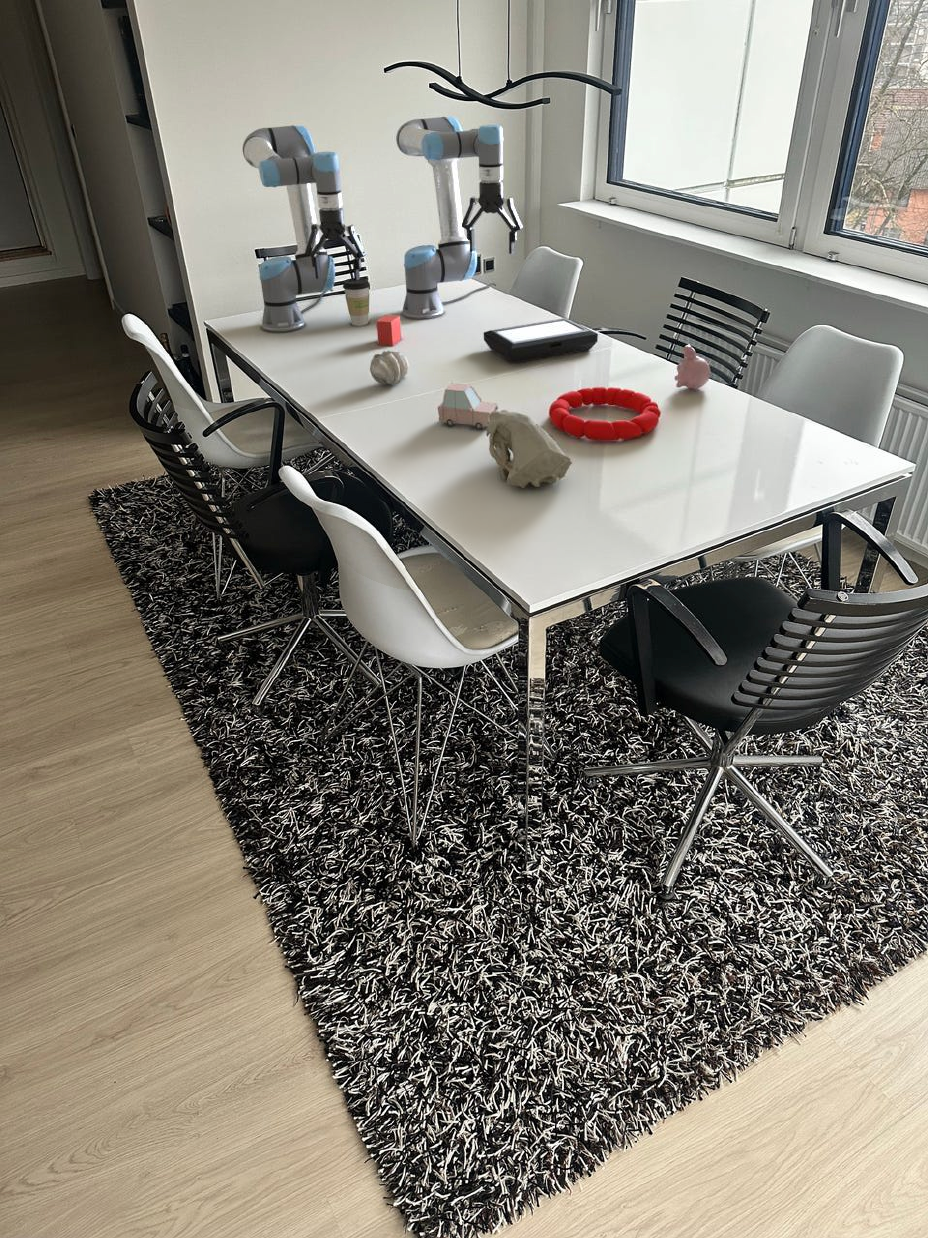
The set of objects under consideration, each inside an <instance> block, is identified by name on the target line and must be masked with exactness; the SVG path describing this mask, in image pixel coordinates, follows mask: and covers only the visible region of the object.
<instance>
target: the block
mask: <svg viewBox="0 0 928 1238" xmlns="http://www.w3.org/2000/svg"><path fill="white" fill-rule="evenodd" d="M376 334H377V344H378V346H390V347H394V346H395V345H396V344H397V343H399V342H400V341H401V340H402V329H401V316H400V315H392V314H385V315H383V316H381V317H380V318H379V319H377V320H376Z"/></svg>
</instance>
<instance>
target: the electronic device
mask: <svg viewBox="0 0 928 1238" xmlns="http://www.w3.org/2000/svg"><path fill="white" fill-rule="evenodd" d="M598 337H599V333H597V332H595V331H594V330H591V329H589V328H587V327H585V326H583V325H581V324H579V323H577V322H575V321H574V320H571V319H570V318H567V317H564V318H558V319H552V320H544V321H540V322H533V323H526V324H521V325H515V326H508V327H502V328H497V329H496V328H495V329H491V330H487V331H484V332H483V341H484V343H485V344H486V345H487V346H488V348H489V349H490V350H491V351H493V352H495V353H496V354H497V355H500V356H501V357H502V358H505V359H506V360H507V361H509V362H510V363H511V364H515V363H520V362H527V361H533V360H538V359H543V358H544V359H545V358H550V357H551V358H552V357H556V356H561V355H566V354H567V355H568V354H572V353H579V352H584V351H589V350H591V349H593V347H595V345H596V344H597V343H598V341H599V340H598Z"/></svg>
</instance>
